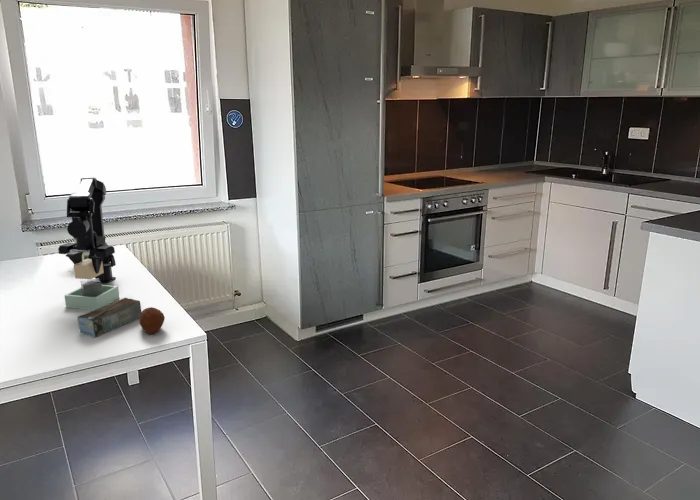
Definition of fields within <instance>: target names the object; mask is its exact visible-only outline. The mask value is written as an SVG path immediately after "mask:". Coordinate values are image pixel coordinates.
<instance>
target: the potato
mask: <svg viewBox="0 0 700 500" xmlns="http://www.w3.org/2000/svg"><path fill="white" fill-rule="evenodd" d="M165 319H166V317H165V315H164V312H162V311H161V310H160V309H158V308H156V307H153V306H151V307H147V308H144V309H143V310H141V314H140V318H139V325H140V326H141V329H142V330H143V331H144V332H145V333H147V334H149V335H154V334H156V333H158V332H159V331H160V330H161V328H162V327H163V324H164V322H165Z"/></svg>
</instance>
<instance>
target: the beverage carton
mask: <svg viewBox="0 0 700 500" xmlns="http://www.w3.org/2000/svg"><path fill="white" fill-rule="evenodd" d="M141 312H142V305H141V301H140V300H138V299H133V298H128V297H123V298H121V299H119V300H118V299H117V301H116V300H115V301H113V302H111V303H109V304H108V305H106V306H104V307H101V308H99V309H96V310H91V311H89V312H87V313H85V314H81V315H79V316H77V325H78V330H79V333H80V334H82V335H85V336H89V337H92V338H97V337H100V336H103V335H105V334H107V333H109V332H111V331H113V330H115V329H116V330H117V329H118V328H120V327H122V326H124V325H126V324H129V323H130V322H133V321H135V320H138V319H140V314H141Z"/></svg>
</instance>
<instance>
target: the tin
mask: <svg viewBox="0 0 700 500" xmlns="http://www.w3.org/2000/svg"><path fill="white" fill-rule="evenodd" d="M102 285H103V283H101V282H100V280H99V278H97V279H95V278H93V279H83V280H80V286H81V288H82V296H87V297H97V296H99V295H101V294H103V292H102Z"/></svg>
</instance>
